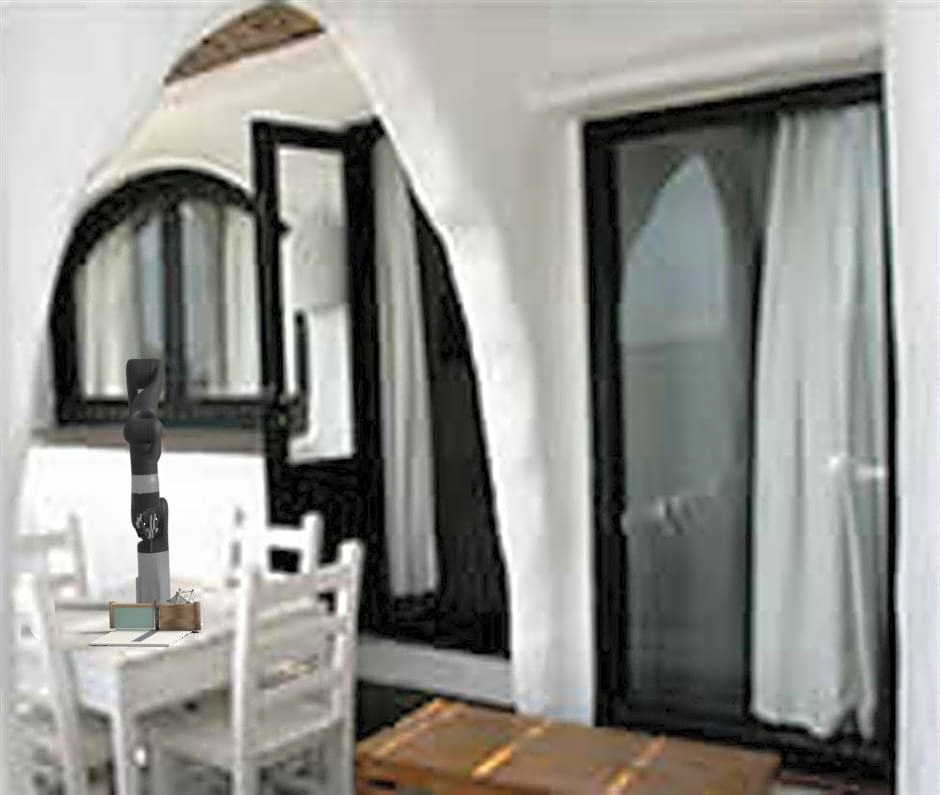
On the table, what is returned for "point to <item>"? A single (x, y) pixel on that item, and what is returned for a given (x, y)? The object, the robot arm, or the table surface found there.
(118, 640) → the board
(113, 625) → the tan and green panel
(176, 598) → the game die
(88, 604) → the table surface
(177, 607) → the fixed fence section
